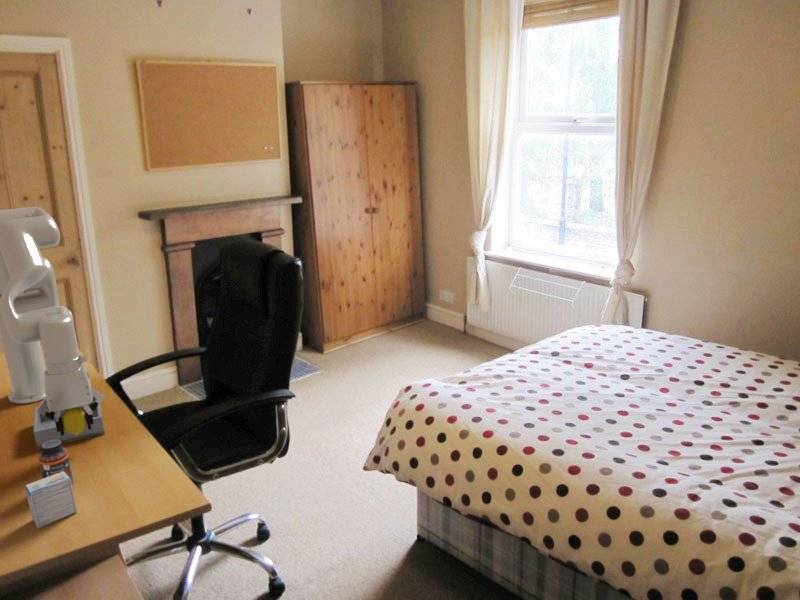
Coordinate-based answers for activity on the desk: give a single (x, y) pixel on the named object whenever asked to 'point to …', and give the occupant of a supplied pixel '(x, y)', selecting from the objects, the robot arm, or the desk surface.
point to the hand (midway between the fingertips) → (76, 429)
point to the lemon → (74, 420)
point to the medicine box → (51, 499)
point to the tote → (48, 430)
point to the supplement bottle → (54, 459)
